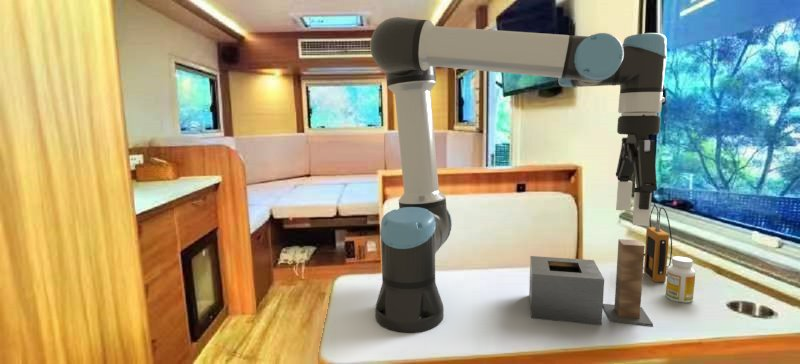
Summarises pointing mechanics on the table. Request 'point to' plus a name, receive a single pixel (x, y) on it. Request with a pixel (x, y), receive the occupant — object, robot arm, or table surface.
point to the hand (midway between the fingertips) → (631, 217)
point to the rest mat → (615, 318)
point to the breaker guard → (566, 290)
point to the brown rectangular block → (629, 278)
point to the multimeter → (657, 250)
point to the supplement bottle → (680, 280)
